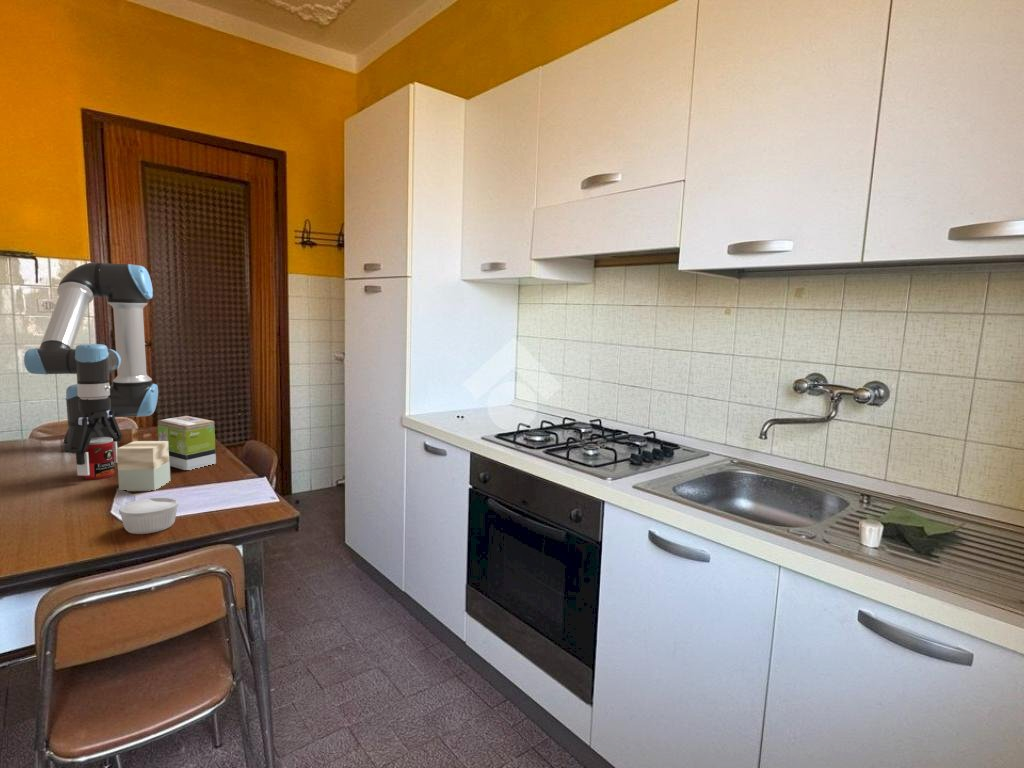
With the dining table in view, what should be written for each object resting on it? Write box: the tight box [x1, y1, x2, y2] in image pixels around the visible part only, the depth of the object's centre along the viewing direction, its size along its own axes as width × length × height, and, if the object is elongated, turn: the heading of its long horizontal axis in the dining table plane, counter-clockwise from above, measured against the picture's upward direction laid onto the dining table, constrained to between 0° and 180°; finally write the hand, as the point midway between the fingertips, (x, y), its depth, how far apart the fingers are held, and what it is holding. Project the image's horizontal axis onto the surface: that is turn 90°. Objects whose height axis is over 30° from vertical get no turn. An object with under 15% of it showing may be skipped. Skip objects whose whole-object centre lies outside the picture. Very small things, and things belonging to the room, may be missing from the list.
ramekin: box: [118, 497, 179, 535], centre depth 126 cm, size 11×11×5 cm
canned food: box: [82, 437, 116, 480], centre depth 162 cm, size 8×8×11 cm
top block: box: [116, 440, 169, 471], centre depth 154 cm, size 9×9×6 cm
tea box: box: [157, 415, 217, 471], centre depth 177 cm, size 15×10×15 cm
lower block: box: [117, 462, 171, 492], centre depth 155 cm, size 9×9×6 cm
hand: (98, 468), depth 163 cm, fingers open, 13 cm apart
